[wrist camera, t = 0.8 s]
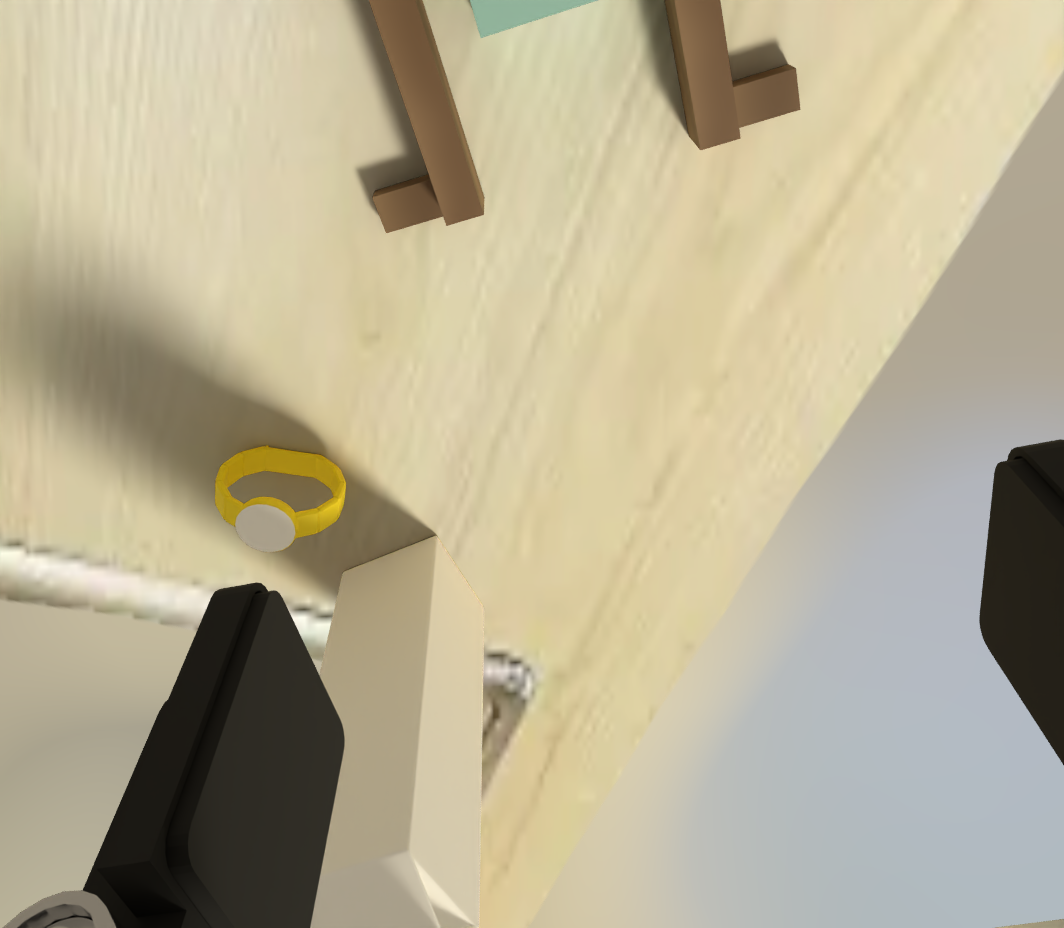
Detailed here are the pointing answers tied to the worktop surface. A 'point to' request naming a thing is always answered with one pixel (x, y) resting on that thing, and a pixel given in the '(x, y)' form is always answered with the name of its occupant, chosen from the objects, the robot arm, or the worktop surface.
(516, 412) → the worktop surface
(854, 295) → the worktop surface
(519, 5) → the block
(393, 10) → the wooden brackets
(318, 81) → the worktop surface
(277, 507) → the watch
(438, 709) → the milk
